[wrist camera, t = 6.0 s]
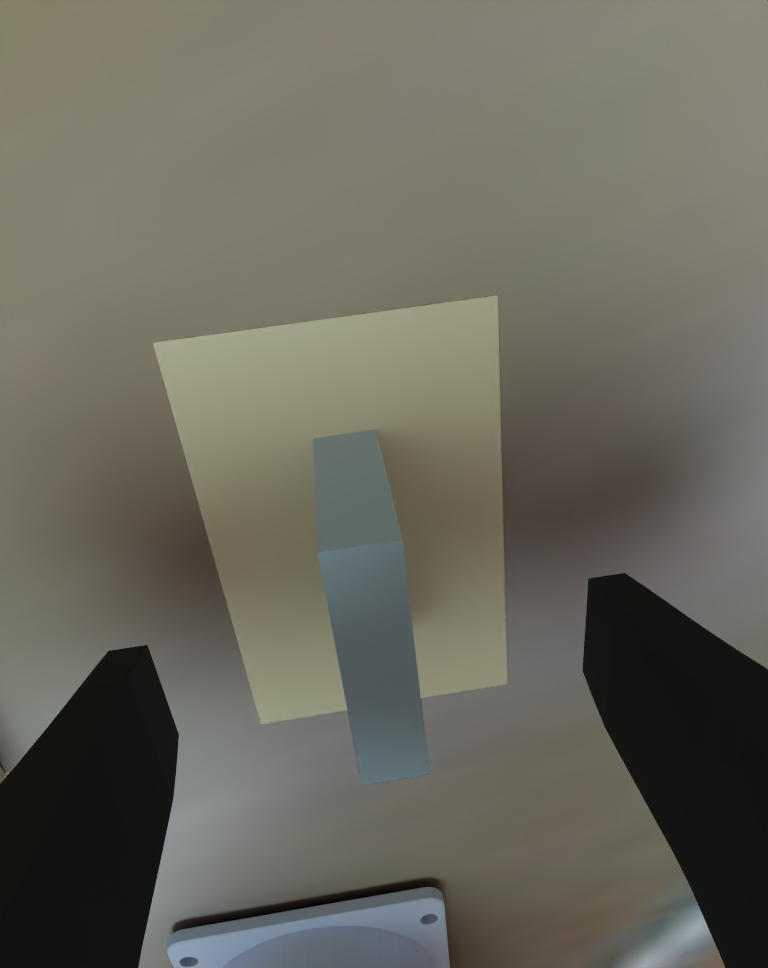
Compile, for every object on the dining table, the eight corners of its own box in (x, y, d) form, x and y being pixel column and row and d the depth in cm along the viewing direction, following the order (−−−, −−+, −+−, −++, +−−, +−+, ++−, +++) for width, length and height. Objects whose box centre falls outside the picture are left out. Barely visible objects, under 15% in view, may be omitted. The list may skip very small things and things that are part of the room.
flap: (502, 669, 17) (560, 829, 13) (262, 708, 16) (251, 882, 13) (490, 289, 12) (575, 365, 8) (158, 334, 12) (92, 434, 8)
